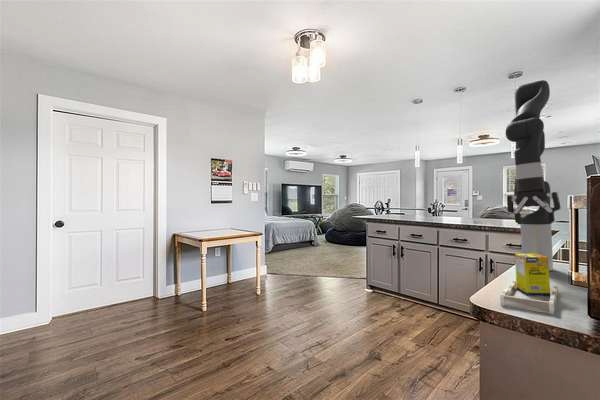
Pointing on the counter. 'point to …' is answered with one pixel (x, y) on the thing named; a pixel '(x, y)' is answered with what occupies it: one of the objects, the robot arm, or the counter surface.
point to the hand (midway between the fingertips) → (534, 224)
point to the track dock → (528, 301)
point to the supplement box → (532, 274)
